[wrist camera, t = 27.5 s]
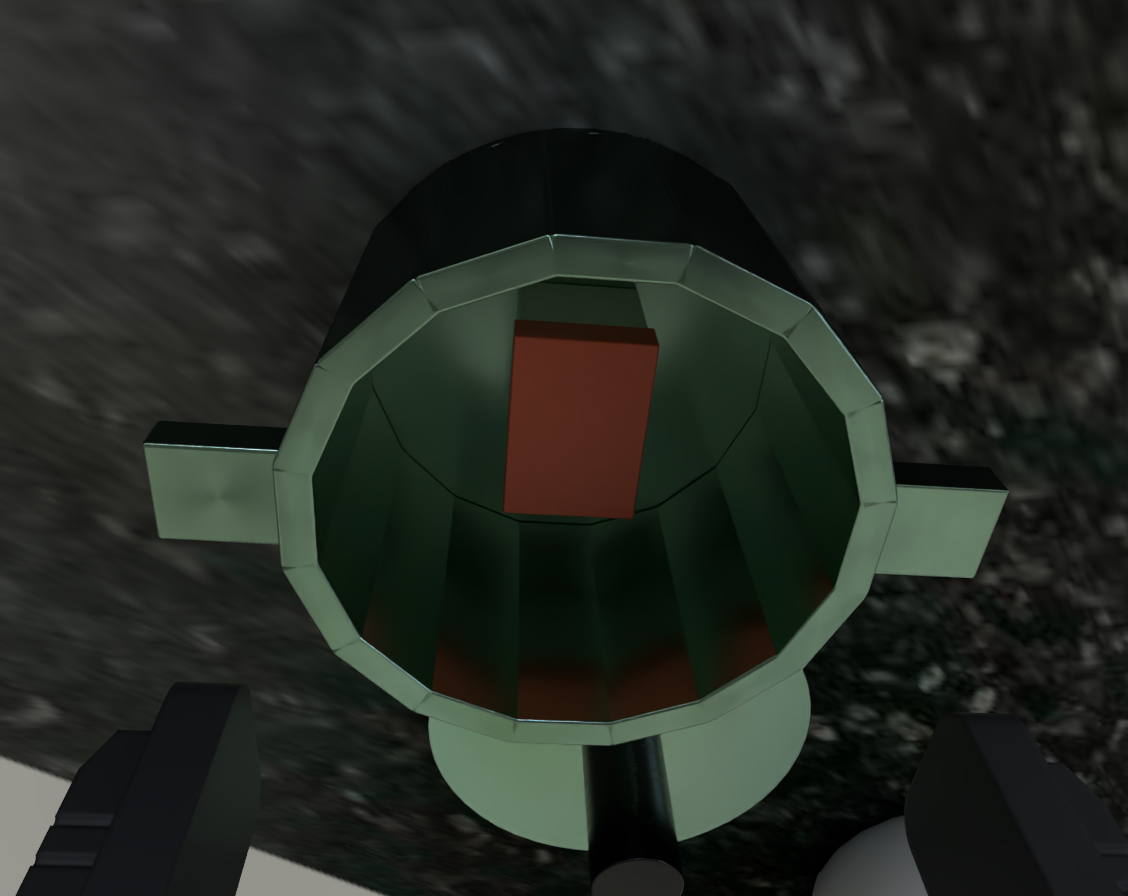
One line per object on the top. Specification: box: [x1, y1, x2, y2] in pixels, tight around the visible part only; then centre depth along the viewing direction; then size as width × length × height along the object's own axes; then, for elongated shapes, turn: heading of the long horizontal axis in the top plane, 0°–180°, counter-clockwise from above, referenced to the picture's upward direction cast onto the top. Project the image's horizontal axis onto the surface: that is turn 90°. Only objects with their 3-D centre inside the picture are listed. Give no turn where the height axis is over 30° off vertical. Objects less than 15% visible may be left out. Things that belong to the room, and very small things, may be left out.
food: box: [503, 283, 660, 519], centre depth 24 cm, size 5×3×4 cm
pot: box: [142, 128, 1009, 746], centre depth 23 cm, size 13×18×8 cm
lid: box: [428, 669, 811, 896], centre depth 31 cm, size 14×14×7 cm
